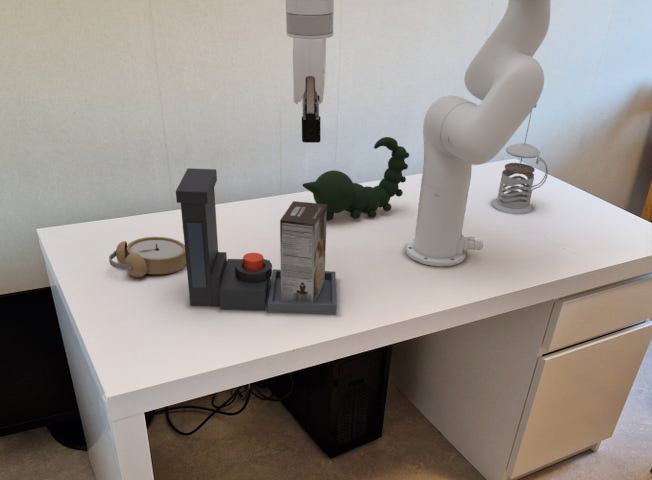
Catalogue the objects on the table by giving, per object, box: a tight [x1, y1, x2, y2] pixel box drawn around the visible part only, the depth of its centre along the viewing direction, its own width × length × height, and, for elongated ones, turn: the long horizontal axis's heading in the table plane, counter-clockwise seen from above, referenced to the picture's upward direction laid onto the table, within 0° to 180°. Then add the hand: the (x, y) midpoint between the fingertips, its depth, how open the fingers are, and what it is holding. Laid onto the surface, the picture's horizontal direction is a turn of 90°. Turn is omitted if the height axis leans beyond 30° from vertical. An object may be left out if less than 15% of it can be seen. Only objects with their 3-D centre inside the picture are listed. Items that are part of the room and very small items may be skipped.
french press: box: [491, 103, 549, 215], centre depth 158 cm, size 10×12×25 cm
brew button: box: [242, 252, 264, 271], centre depth 119 cm, size 4×4×2 cm
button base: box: [219, 258, 273, 312], centre depth 121 cm, size 9×12×6 cm
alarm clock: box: [108, 236, 187, 278], centre depth 129 cm, size 11×5×15 cm
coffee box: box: [279, 200, 327, 303], centre depth 118 cm, size 9×6×16 cm
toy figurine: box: [302, 136, 410, 222], centre depth 150 cm, size 9×19×25 cm
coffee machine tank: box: [175, 168, 228, 308], centre depth 117 cm, size 6×11×22 cm, turn 1°
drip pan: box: [267, 268, 337, 316], centre depth 123 cm, size 12×13×2 cm
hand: (311, 140), depth 116 cm, fingers closed
